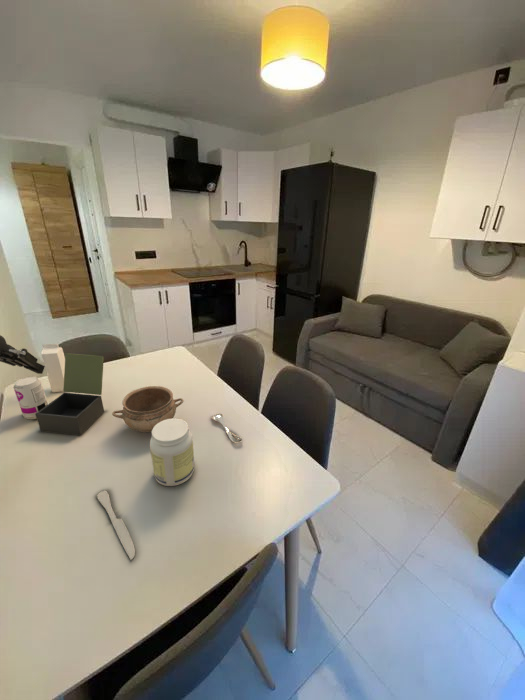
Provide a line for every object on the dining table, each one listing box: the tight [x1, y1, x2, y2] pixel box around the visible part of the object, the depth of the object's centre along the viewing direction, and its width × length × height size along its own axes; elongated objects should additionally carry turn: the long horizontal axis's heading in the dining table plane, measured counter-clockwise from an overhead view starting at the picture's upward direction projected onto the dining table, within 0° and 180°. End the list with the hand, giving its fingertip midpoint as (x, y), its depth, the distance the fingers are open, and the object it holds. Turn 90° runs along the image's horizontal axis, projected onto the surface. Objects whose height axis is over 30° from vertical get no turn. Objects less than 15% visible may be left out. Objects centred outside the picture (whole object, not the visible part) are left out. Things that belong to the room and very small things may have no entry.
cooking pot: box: [111, 385, 184, 433], centre depth 109 cm, size 25×19×12 cm
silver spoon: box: [210, 412, 243, 443], centre depth 110 cm, size 20×4×5 cm
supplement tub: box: [149, 417, 196, 487], centre depth 88 cm, size 12×12×17 cm
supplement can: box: [13, 375, 49, 420], centre depth 112 cm, size 8×8×15 cm
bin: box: [35, 392, 105, 436], centre depth 110 cm, size 14×15×8 cm
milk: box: [40, 343, 65, 393], centre depth 128 cm, size 6×6×22 cm
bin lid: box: [62, 352, 105, 396], centre depth 115 cm, size 15×15×1 cm
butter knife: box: [96, 490, 136, 560], centre depth 75 cm, size 1×24×3 cm
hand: (41, 369), depth 99 cm, fingers closed
